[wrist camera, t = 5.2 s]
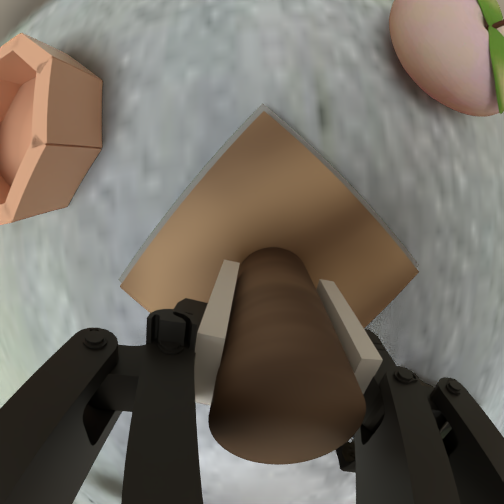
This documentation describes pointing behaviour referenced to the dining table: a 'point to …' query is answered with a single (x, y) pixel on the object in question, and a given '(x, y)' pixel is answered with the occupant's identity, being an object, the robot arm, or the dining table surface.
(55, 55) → the bowl
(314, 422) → the lid
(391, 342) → the dining table surface
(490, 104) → the decorative fruit
